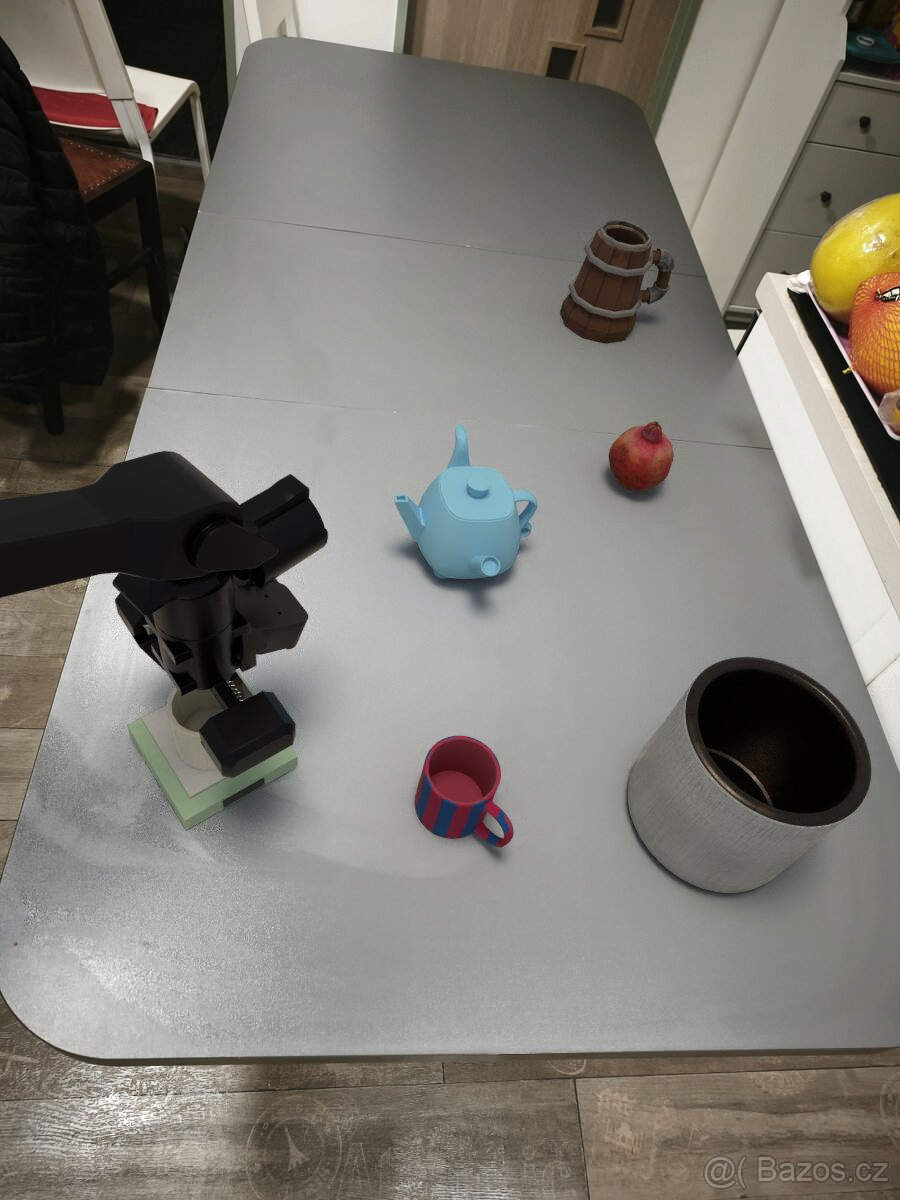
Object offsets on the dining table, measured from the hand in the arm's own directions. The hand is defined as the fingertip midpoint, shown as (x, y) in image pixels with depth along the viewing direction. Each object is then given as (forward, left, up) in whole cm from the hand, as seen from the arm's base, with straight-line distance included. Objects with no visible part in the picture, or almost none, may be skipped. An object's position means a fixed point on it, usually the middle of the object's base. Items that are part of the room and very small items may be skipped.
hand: (210, 719), depth 70 cm
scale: (0, 0, -6) cm, 6 cm away
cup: (+15, -18, -6) cm, 24 cm away
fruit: (+63, +6, -6) cm, 63 cm away
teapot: (+35, +8, -6) cm, 36 cm away
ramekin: (0, 0, -3) cm, 3 cm away
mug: (+88, +35, -6) cm, 95 cm away
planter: (+35, -31, -6) cm, 47 cm away
